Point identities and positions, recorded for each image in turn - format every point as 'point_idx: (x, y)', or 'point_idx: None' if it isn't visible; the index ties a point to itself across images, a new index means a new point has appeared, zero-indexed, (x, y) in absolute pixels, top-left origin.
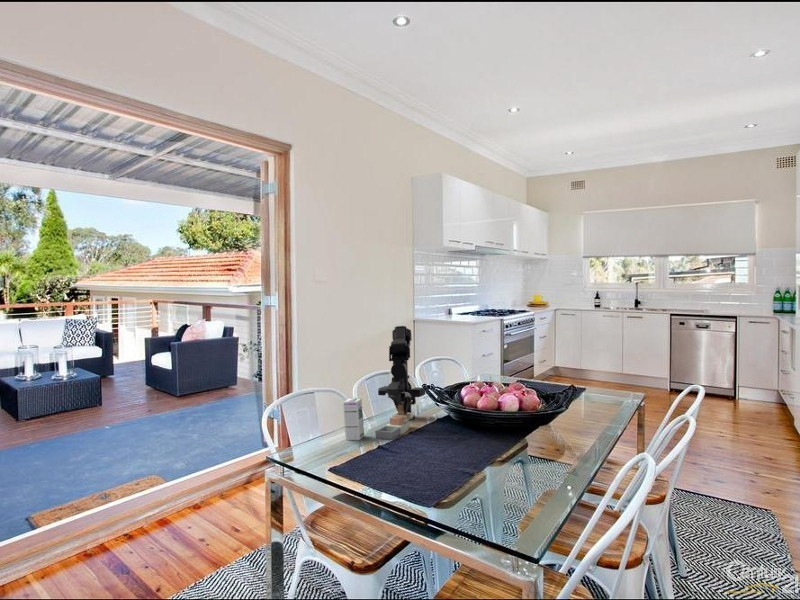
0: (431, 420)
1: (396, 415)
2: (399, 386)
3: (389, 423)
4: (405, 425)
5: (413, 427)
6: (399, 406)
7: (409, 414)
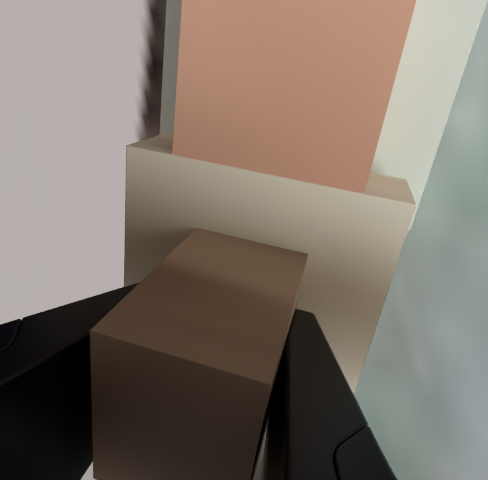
0: None
1: (329, 218)
2: None
3: (444, 69)
4: (170, 63)
5: None
6: (219, 340)
7: (128, 283)
